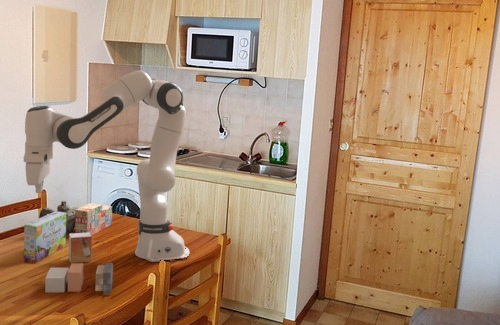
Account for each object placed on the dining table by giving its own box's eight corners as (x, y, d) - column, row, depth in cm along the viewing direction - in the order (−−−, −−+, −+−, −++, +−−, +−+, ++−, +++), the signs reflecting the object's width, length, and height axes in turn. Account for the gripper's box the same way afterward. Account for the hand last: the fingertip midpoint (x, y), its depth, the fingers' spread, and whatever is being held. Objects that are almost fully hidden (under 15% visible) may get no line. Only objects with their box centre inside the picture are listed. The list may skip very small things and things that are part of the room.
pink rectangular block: (83, 282, 182) (83, 263, 181) (80, 292, 174) (80, 272, 173) (71, 282, 181) (71, 263, 180) (67, 292, 173) (67, 272, 172)
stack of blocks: (100, 222, 251) (101, 198, 249) (112, 224, 250) (112, 200, 247) (74, 235, 231) (75, 209, 229) (87, 237, 229) (87, 211, 227)
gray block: (68, 281, 181) (68, 267, 180) (64, 292, 173) (64, 278, 172) (50, 281, 180) (50, 267, 179) (45, 292, 171) (45, 278, 171)
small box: (70, 263, 199) (70, 237, 197) (68, 258, 204) (68, 233, 202) (91, 261, 203) (92, 236, 201) (89, 256, 208) (89, 231, 206)
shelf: (112, 282, 185) (113, 262, 183) (110, 295, 175) (110, 273, 174) (35, 283, 180) (35, 262, 178) (28, 296, 170) (28, 274, 169)
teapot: (76, 225, 245) (76, 194, 242) (90, 231, 238) (90, 199, 235) (33, 234, 228) (32, 201, 226) (46, 241, 221) (46, 207, 218)
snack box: (36, 264, 197) (36, 226, 194) (23, 262, 198) (22, 224, 195) (66, 246, 217) (67, 211, 214) (54, 244, 218) (54, 210, 216)
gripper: (35, 147, 188) (36, 184, 190) (22, 158, 168) (22, 199, 171) (54, 148, 189) (54, 185, 192) (42, 158, 169) (42, 199, 172)
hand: (39, 192), depth 181 cm, fingers closed
